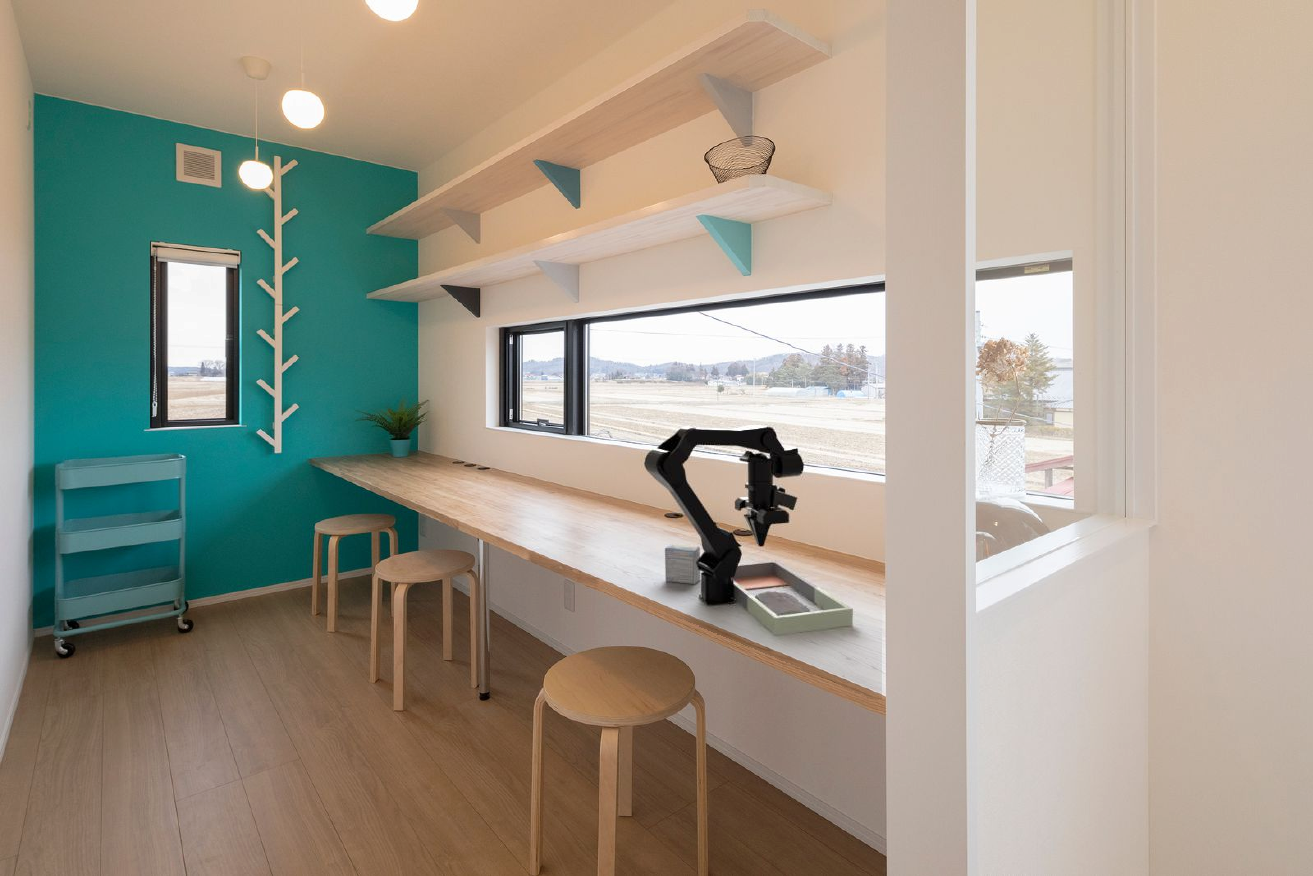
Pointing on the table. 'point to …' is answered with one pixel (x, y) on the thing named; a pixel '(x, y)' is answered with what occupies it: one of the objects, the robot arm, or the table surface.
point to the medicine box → (682, 563)
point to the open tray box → (782, 576)
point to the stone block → (781, 603)
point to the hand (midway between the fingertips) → (760, 546)
